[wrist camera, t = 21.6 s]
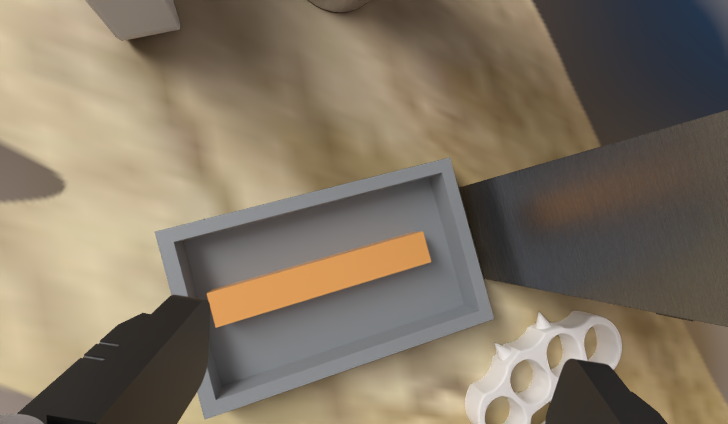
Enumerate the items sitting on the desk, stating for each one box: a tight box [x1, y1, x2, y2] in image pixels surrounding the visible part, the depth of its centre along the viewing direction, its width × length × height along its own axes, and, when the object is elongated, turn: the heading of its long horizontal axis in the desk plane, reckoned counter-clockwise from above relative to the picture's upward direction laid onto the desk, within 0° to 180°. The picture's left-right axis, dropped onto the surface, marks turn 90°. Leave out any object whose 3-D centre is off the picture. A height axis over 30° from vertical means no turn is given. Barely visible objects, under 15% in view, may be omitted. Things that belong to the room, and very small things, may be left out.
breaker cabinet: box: [460, 110, 728, 327], centre depth 30 cm, size 14×11×32 cm
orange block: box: [207, 231, 431, 328], centre depth 38 cm, size 20×3×3 cm, turn 105°
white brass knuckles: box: [465, 311, 622, 424], centre depth 43 cm, size 3×18×15 cm
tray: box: [155, 158, 494, 419], centre depth 39 cm, size 27×16×4 cm, turn 105°
